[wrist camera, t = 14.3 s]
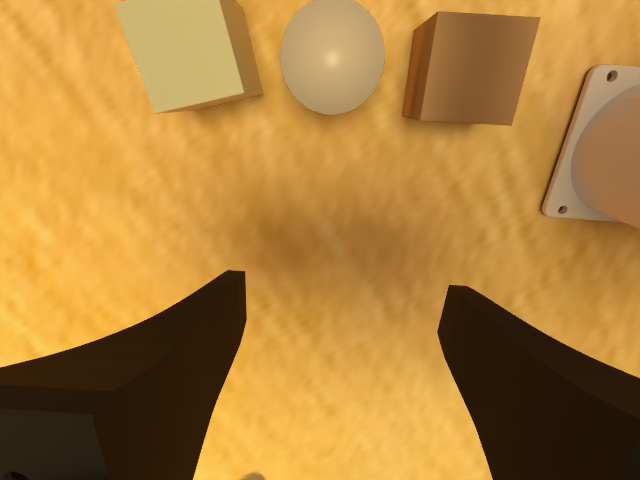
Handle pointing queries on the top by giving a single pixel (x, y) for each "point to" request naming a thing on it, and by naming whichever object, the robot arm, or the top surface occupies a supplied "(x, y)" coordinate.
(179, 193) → the top surface
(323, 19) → the grey cylinder
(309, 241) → the top surface
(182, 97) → the sage block
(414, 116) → the walnut block
